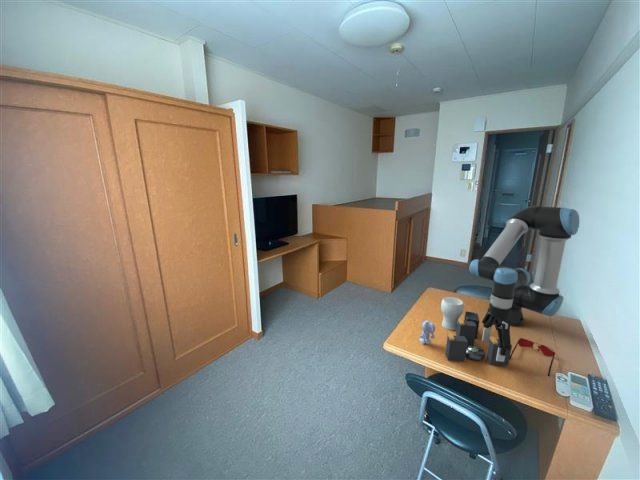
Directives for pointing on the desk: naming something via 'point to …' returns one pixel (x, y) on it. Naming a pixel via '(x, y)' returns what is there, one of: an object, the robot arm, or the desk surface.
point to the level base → (475, 353)
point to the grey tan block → (466, 330)
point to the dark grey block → (456, 348)
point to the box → (472, 319)
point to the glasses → (544, 349)
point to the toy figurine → (427, 332)
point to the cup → (451, 312)
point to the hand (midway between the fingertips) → (492, 350)
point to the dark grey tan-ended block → (493, 353)
